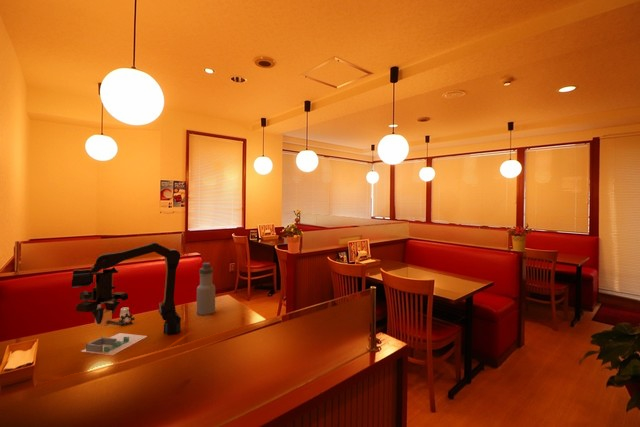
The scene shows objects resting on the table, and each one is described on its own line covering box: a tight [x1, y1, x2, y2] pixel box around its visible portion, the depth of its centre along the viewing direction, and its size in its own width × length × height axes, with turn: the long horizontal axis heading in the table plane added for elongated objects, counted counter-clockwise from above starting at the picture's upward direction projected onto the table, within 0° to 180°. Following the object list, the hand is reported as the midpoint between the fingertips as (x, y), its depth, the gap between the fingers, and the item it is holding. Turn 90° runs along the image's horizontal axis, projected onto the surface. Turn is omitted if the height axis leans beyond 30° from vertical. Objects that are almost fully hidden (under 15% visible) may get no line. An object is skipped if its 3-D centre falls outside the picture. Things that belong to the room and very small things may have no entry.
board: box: [80, 332, 148, 356], centre depth 125 cm, size 15×18×1 cm
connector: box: [94, 309, 122, 328], centre depth 121 cm, size 11×4×6 cm, turn 78°
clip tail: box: [104, 342, 119, 352], centre depth 120 cm, size 2×5×2 cm, turn 168°
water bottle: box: [196, 262, 216, 316], centre depth 166 cm, size 10×10×28 cm
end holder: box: [85, 336, 116, 352], centre depth 121 cm, size 7×7×2 cm
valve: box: [118, 306, 135, 327], centre depth 150 cm, size 7×7×12 cm
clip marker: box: [115, 337, 129, 346], centre depth 125 cm, size 2×5×2 cm, turn 168°
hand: (103, 322), depth 121 cm, fingers closed on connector, 4 cm apart
